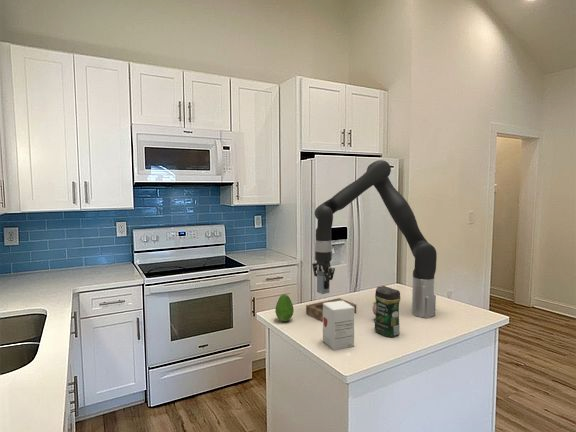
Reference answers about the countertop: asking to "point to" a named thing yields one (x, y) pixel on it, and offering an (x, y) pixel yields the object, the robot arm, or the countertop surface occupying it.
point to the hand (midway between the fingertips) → (323, 287)
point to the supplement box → (338, 324)
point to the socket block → (317, 308)
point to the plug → (321, 283)
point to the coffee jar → (387, 311)
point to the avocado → (284, 308)
